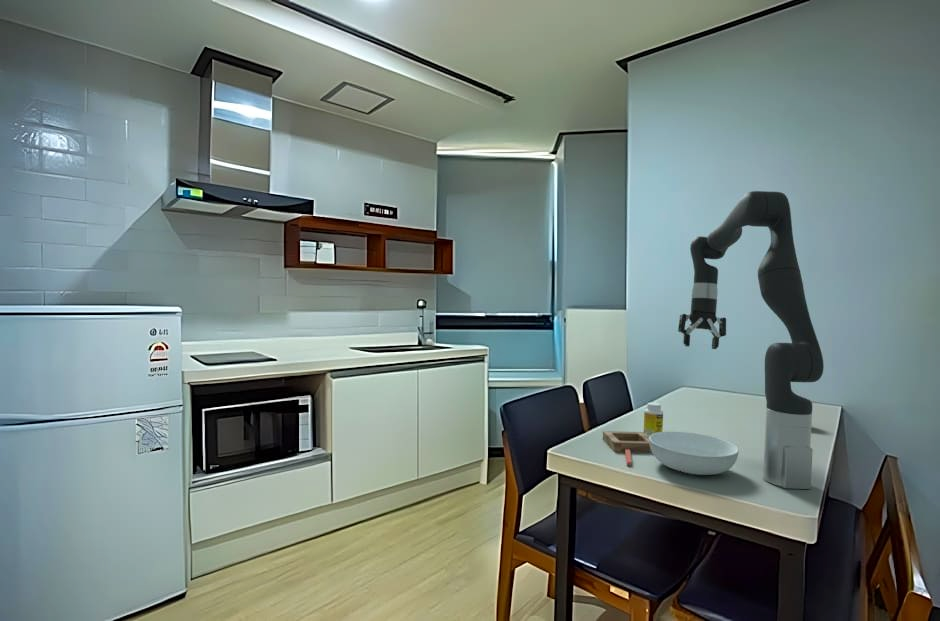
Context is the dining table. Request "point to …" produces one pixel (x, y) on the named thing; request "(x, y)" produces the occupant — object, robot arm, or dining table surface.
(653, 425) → the supplement bottle
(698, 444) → the serving bowl
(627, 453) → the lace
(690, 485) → the dining table surface
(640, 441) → the brown wooden square frame
